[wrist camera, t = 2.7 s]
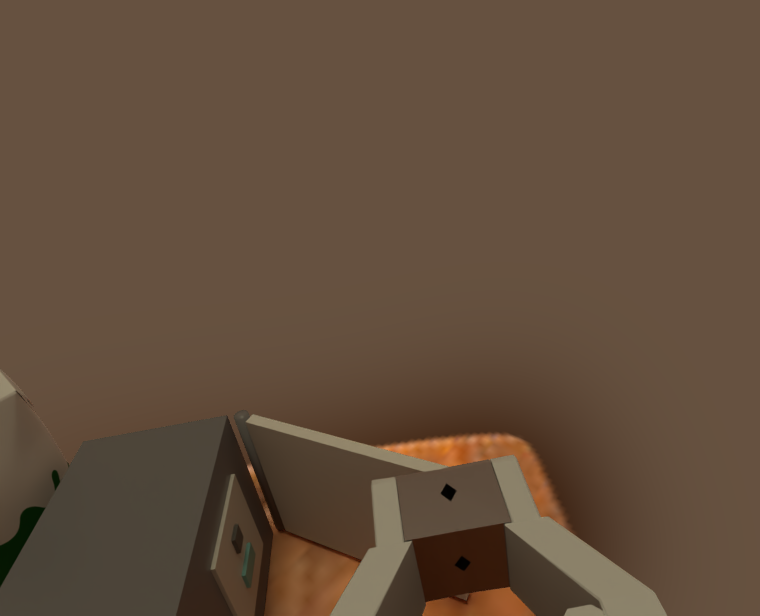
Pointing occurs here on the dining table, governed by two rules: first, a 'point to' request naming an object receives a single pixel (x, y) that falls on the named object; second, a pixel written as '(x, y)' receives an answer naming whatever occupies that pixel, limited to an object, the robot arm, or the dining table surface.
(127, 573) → the box
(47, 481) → the milk carton
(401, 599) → the robot arm
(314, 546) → the dining table surface
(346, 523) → the side door
